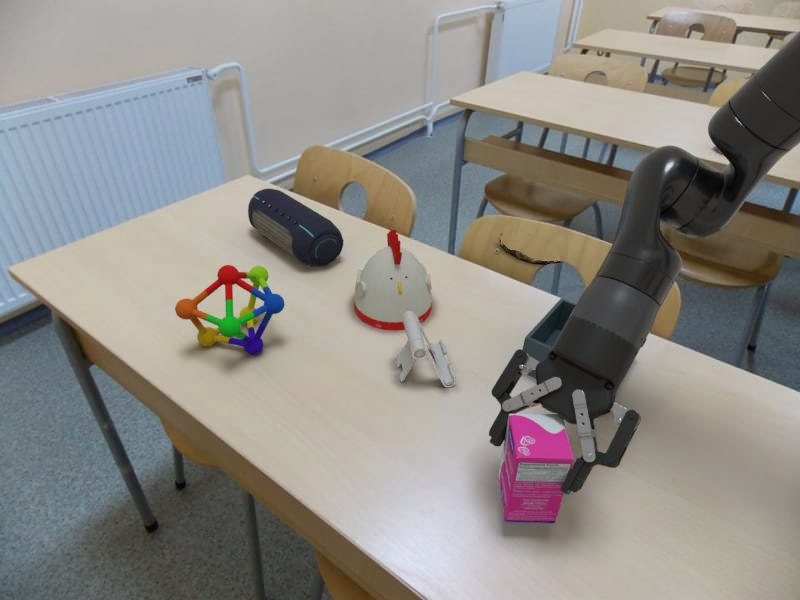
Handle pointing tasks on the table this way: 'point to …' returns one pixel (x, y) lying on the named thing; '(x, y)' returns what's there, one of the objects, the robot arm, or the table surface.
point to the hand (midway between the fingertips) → (528, 467)
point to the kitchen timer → (392, 287)
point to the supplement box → (534, 467)
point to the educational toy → (229, 323)
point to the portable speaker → (295, 227)
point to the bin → (547, 331)
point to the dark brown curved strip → (524, 256)
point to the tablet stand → (423, 351)
